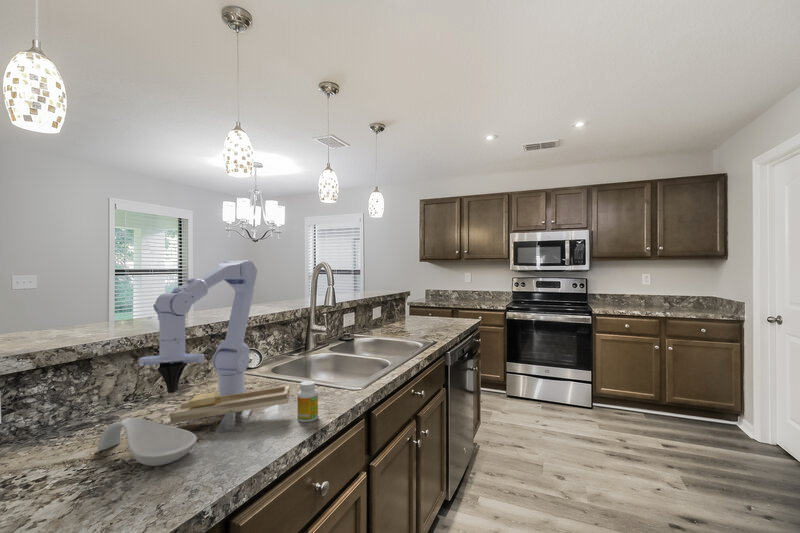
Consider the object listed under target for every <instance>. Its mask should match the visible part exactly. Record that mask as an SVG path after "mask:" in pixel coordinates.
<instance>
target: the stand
mask: <svg viewBox="0 0 800 533" xmlns="http://www.w3.org/2000/svg"><path fill="white" fill-rule="evenodd" d="M251 414H252V409H250V410H244V411H239V412H235V411H227V412H226V413H225V414H224V417H223V419H222V420H221V421H220V423H219V425H218V426H217V427H216V429H215V432H216V434H220V433H230V432H233V433H234V432H241V431H243V429H244V428H245V426H246V424H247V421H248V419H249V418H250V416H251Z"/></svg>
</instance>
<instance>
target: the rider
mask: <svg viewBox="0 0 800 533" xmlns="http://www.w3.org/2000/svg"><path fill="white" fill-rule="evenodd" d="M188 401H189V406H190V409H193V408H199V407H205V406H211V405H217V404H220V403H221V398H220V391H218V390H217V391H212V392H206V393H200V394H199V393H198V394H195V395H194V396H193V397H192V398H190V400H188Z"/></svg>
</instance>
